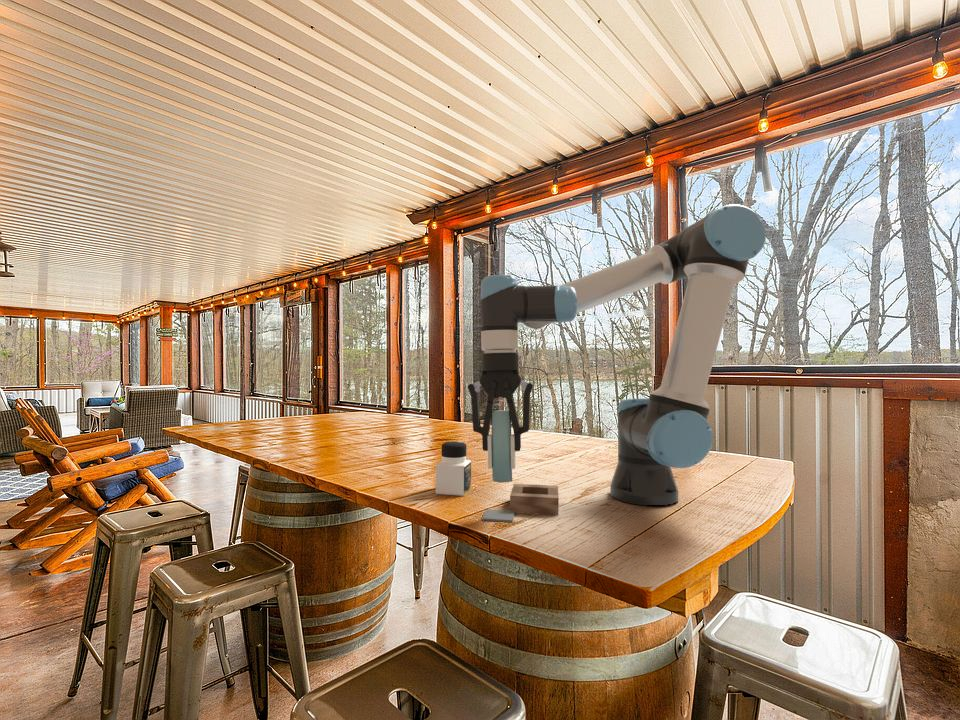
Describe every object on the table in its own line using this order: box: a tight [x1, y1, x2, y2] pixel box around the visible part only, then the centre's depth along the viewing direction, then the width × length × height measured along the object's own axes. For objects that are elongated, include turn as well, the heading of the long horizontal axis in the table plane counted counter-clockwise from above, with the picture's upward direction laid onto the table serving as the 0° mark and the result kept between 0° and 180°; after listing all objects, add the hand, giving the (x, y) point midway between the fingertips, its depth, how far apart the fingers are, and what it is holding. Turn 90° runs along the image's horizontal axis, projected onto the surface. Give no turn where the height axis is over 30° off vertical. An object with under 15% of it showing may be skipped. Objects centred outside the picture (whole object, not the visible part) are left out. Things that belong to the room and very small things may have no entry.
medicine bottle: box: [435, 440, 472, 497], centre depth 114 cm, size 7×7×12 cm
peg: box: [490, 409, 513, 483], centre depth 95 cm, size 4×4×14 cm
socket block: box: [509, 483, 560, 516], centre depth 102 cm, size 10×10×4 cm
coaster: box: [481, 508, 516, 523], centre depth 95 cm, size 6×6×1 cm
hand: (502, 466), depth 95 cm, fingers closed on peg, 4 cm apart
